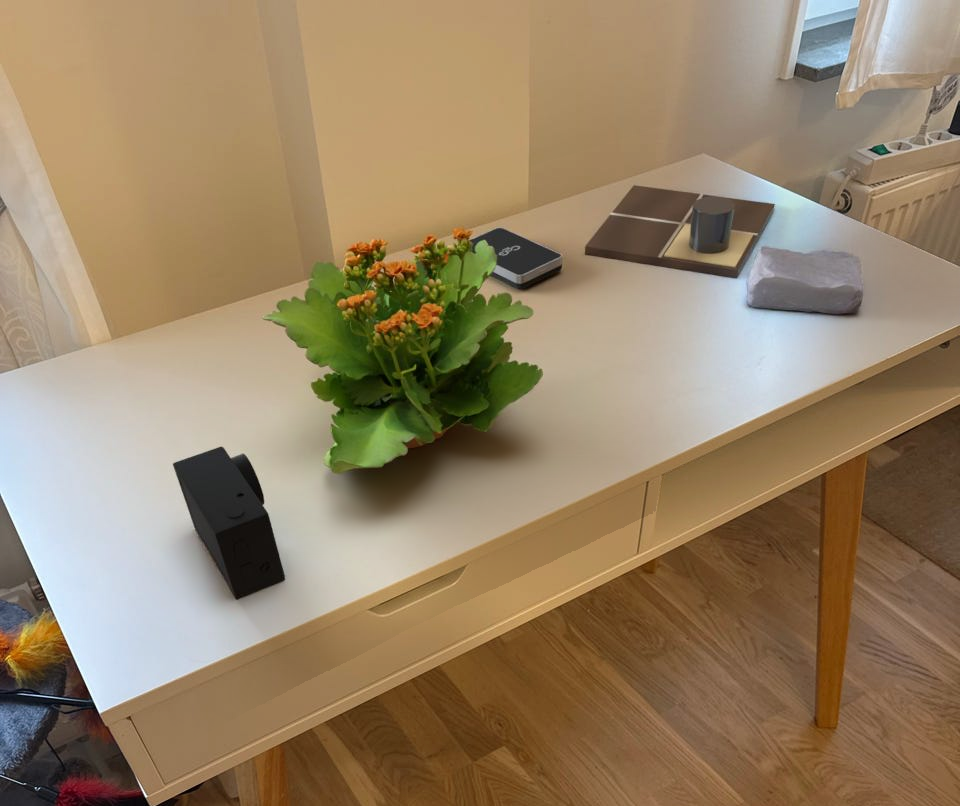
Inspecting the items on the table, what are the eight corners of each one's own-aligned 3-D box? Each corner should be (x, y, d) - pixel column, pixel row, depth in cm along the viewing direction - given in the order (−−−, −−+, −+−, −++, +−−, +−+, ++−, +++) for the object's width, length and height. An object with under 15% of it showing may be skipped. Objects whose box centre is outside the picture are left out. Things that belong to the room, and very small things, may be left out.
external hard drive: (500, 242, 116) (499, 226, 115) (565, 272, 110) (565, 255, 109) (456, 262, 113) (455, 245, 112) (520, 294, 107) (520, 277, 106)
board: (773, 211, 118) (775, 202, 117) (736, 278, 107) (738, 268, 107) (633, 192, 124) (633, 183, 123) (584, 254, 113) (584, 244, 112)
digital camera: (300, 575, 78) (283, 507, 73) (236, 600, 76) (215, 533, 71) (254, 506, 84) (235, 439, 79) (194, 528, 82) (171, 461, 77)
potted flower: (241, 398, 95) (194, 223, 83) (443, 323, 104) (429, 153, 91) (361, 533, 81) (327, 345, 68) (585, 432, 89) (593, 248, 76)
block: (745, 283, 110) (742, 309, 102) (753, 238, 107) (752, 262, 99) (852, 295, 108) (858, 322, 100) (864, 250, 105) (872, 275, 97)
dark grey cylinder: (733, 238, 111) (739, 199, 108) (723, 256, 109) (729, 216, 105) (694, 233, 113) (699, 194, 109) (683, 250, 110) (688, 210, 107)
